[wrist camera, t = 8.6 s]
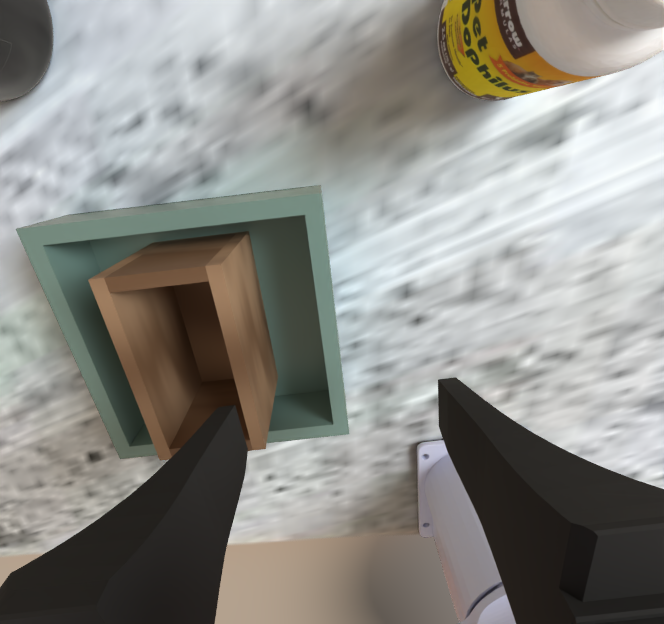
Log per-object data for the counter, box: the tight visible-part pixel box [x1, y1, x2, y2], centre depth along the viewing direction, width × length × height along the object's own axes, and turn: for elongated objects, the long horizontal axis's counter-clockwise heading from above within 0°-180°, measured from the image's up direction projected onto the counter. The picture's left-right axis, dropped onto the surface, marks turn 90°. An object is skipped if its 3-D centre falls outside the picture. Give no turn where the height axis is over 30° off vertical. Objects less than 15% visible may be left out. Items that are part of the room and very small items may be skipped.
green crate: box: [16, 185, 349, 459], centre depth 20 cm, size 13×13×4 cm
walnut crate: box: [88, 231, 278, 460], centre depth 18 cm, size 9×5×6 cm, turn 6°
